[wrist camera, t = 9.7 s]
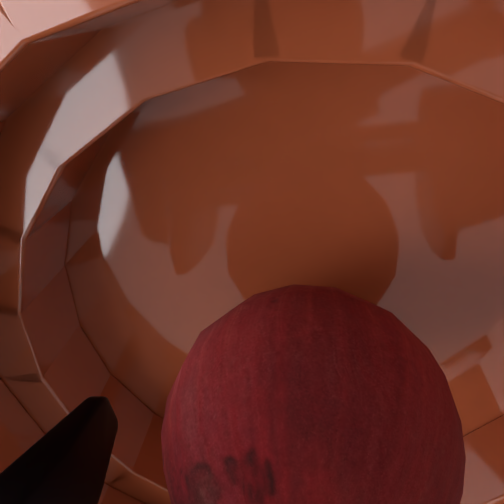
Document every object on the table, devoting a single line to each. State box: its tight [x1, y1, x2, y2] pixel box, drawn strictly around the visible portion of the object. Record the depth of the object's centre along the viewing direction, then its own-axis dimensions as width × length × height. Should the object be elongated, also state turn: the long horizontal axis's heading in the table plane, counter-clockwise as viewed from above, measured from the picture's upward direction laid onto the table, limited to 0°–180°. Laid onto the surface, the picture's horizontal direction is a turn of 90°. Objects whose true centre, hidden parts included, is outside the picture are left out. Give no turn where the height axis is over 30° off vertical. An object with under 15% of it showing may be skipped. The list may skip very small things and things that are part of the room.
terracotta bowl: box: [0, 0, 504, 504], centre depth 11 cm, size 17×17×5 cm
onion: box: [161, 284, 466, 504], centre depth 9 cm, size 6×6×8 cm
